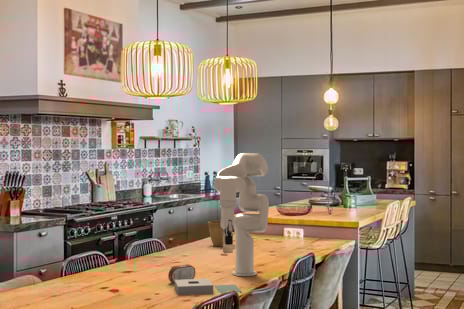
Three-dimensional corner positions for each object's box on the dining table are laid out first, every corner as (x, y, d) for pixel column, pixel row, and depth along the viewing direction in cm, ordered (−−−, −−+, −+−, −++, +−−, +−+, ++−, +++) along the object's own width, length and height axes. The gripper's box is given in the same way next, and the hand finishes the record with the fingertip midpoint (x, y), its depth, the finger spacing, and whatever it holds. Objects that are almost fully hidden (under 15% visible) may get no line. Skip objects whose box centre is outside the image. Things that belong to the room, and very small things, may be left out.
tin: (192, 279, 305) (192, 263, 305) (196, 280, 302) (196, 263, 302) (167, 284, 295) (167, 266, 295) (171, 285, 292) (171, 267, 292)
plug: (222, 251, 285) (222, 232, 285) (231, 251, 286) (231, 232, 286) (224, 253, 281) (224, 233, 281) (232, 253, 282) (233, 233, 282)
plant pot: (226, 247, 400) (226, 223, 400) (204, 246, 405) (204, 222, 405) (232, 244, 415) (233, 220, 414) (212, 243, 419) (212, 220, 419)
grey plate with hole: (174, 288, 286) (174, 279, 286) (208, 286, 289) (208, 278, 289) (177, 295, 272) (177, 286, 272) (213, 294, 275) (213, 285, 275)
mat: (214, 286, 290) (214, 285, 290) (235, 285, 291) (235, 284, 291) (219, 293, 276) (219, 292, 276) (241, 292, 278) (241, 291, 278)
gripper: (216, 202, 291) (216, 241, 291) (223, 206, 274) (223, 246, 274) (232, 202, 292) (232, 240, 292) (239, 205, 276) (239, 246, 276)
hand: (227, 243), depth 283 cm, fingers closed on plug, 4 cm apart
